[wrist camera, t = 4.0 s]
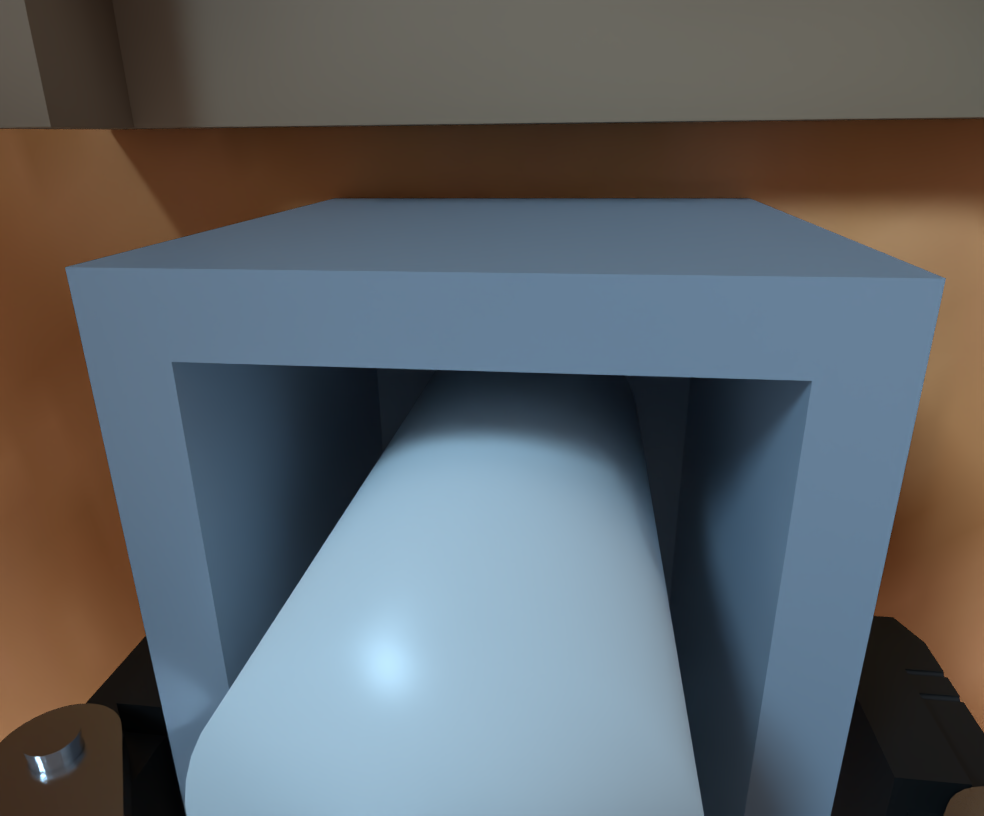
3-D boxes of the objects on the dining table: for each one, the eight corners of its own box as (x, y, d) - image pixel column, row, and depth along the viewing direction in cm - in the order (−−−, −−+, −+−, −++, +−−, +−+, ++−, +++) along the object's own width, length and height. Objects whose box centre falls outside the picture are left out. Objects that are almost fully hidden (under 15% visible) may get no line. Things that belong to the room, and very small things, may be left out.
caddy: (679, 823, 14) (768, 1525, 7) (385, 792, 15) (197, 1402, 8) (749, 197, 10) (1153, 362, 3) (335, 198, 11) (-182, 329, 4)
